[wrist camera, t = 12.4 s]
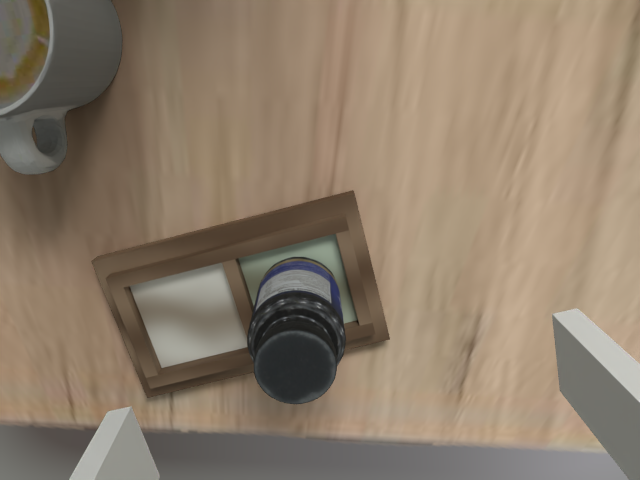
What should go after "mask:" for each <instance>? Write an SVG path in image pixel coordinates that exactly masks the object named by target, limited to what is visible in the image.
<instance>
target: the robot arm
mask: <svg viewBox="0 0 640 480" xmlns="http://www.w3.org/2000/svg"><path fill="white" fill-rule="evenodd" d="M552 319H553V328H554V338H555V348H556V357H557V367H558V377H559V386H560V392H561V393H562V394H563V395H564V397H565V398H566V399H567V401H568V402H569V403H570V404H571V406H572V407H573V408H574V410H575V411H576V412H577V413H578V415H579V416H580V417H581V419H582V420H583V421H584V422H585V424H586V425H587V426H588V427H589V429H590V430H591V431H592V433H593V434H594V435H595V436H596V438H597V439H598V440H599V442H600V443H601V444H602V445H603V447H604V448H605V449H606V451H607V452H608V453H609V454H610V456H611V457H612V458H613V460H614V461H615V462H616V463H617V465H618V466H619V467H620V469H621V470H622V471H623V472H624V474H625V475H626V476H627V477H628V479H629V480H640V364H639V363H638V362H637V361H636V360H635V359H634V358H632V357H631V356H630V355H629V354H628V353H627V352H626V351H625V350H623V349H622V348H621V347H620V346H619V345H618V344H617V343H616V342H615V341H613V340H612V339H611V338H610V337H609V336H608V335H607V334H606V333H605V332H603V331H602V330H601V329H600V328H599V327H598V326H597V325H596V324H594V323H593V322H592V321H591V320H590V319H589V318H588V317H587V316H586V315H584V314H583V313H582V312H581V311H580V310H579V309H578V308H577V309H572V310H568V311H563V312H559V313H554V314H552ZM159 477H160V475H159V473H158V470H157V468H156V465H155V463H154V460H153V458H152V455H151V453H150V451H149V448H148V446H147V443H146V441H145V438H144V436H143V434H142V431H141V429H140V426H139V424H138V421H137V419H136V417H135V414H134V412H133V409H132V407H126V408H122V409H117V410H112V411H108V412H107V414H106V415H105V417H104V419H103V421H102V422H101V424H100V426H99V428H98V430H97V431H96V433H95V435H94V437H93V438H92V440H91V442H90V444H89V445H88V447H87V449H86V451H85V453H84V454H83V456H82V458H81V460H80V461H79V463H78V465H77V467H76V468H75V470H74V472H73V474H72V475H71V477H70V479H69V480H159Z"/></svg>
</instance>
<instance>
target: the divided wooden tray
mask: <svg viewBox="0 0 640 480" xmlns="http://www.w3.org/2000/svg"><path fill="white" fill-rule="evenodd" d="M290 257H307V258H310V259H314V260H316V261H319V262H321V263H322V264H323V265H325V266H326V267H327V268H328V269H329V270H330V271H331V272H332V273H333V275H334V277H335V280H336V282H337V284H338V287H339V291H340V298H341V305H342V312H343V321H344V328H345V335H346V345H345V350H348V349H352V348H356V347H360V346H364V345H368V344H372V343H377V342H381V341H385V340H389V339H390V337H389V333H388V329H387V325H386V321H385V317H384V313H383V309H382V305H381V301H380V296H379V292H378V288H377V284H376V280H375V276H374V272H373V268H372V264H371V260H370V256H369V251H368V247H367V243H366V239H365V235H364V231H363V227H362V223H361V219H360V215H359V211H358V206H357V202H356V198H355V194H354V191H349V192H345V193H341V194H337V195H333V196H330V197H326V198H322V199H318V200H314V201H310V202H306V203H302V204H299V205H295V206H291V207H287V208H283V209H279V210H275V211H271V212H268V213H264V214H260V215H256V216H252V217H248V218H244V219H240V220H237V221H233V222H229V223H225V224H221V225H217V226H213V227H209V228H206V229H202V230H198V231H194V232H190V233H186V234H182V235H178V236H175V237H171V238H167V239H163V240H159V241H155V242H151V243H147V244H144V245H140V246H136V247H132V248H128V249H124V250H120V251H116V252H113V253H109V254H105V255H101V256H97V257H96V258H95V259H94V260H93V261H92V264H93V267H94V269H95V272H96V274H97V276H98V279H99V281H100V284H101V286H102V289H103V291H104V294H105V296H106V298H107V301H108V303H109V306H110V308H111V311H112V313H113V315H114V318H115V320H116V323H117V325H118V328H119V330H120V332H121V335H122V337H123V340H124V342H125V345H126V347H127V350H128V352H129V354H130V357H131V359H132V362H133V364H134V367H135V369H136V371H137V374H138V376H139V379H140V381H141V384H142V386H143V388H144V391H145V393H146V396H147V398H149V397H153V396H157V395H161V394H165V393H170V392H174V391H178V390H182V389H186V388H190V387H194V386H199V385H203V384H207V383H211V382H215V381H219V380H223V379H227V378H232V377H236V376H240V375H244V374H248V373H252V372H254V363H253V361H252V359H251V356H250V354H249V350H248V346H247V335H248V329H249V325H250V321H251V317H252V313H253V309H254V305H255V301H256V297H257V292H258V289H259V285H260V282H261V280H262V279H263V277H264V275H265V273H266V272H267V271H268V270H269V269H270V268H271V267H272V266H273V265H274V264H275V263H277V262H279V261H281V260H284V259H287V258H290Z"/></svg>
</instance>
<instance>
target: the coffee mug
mask: <svg viewBox="0 0 640 480" xmlns="http://www.w3.org/2000/svg"><path fill="white" fill-rule="evenodd" d="M121 53H122V32H121V26H120V22H119V18H118V15H117V12H116V10H115V8H114V5H113V3H112V1H111V0H0V154H1V157H2V158H3V159H4V161H5V162H6V163H7V165H8V166H9V167H10V168H12V169H13V170H14V171H16V172H19V173H22V174H42V173H46V172H50V171H53V170H54V169H56V168H57V167H58V166H59V165H60V164H61V163H62V162H63V160H64V159H65V156H66V152H67V134H66V127H65V116H66V113H67V111H68V110H70V109H73V108H77V107H80V106H83V105H85V104H88V103H89V102H91V101H93V100H94V99H96V98H97V97H98V96H99V95H100V94H101V93H103V92H104V91H105V89H106V88H107V87H108V86H109V84H110V83H111V81H112V80H113V78H114V76H115V74H116V72H117V69H118V66H119V63H120V60H121ZM32 127H34V129H35V133H36V137H37V146H36V144H35V142H34V140H33V136H32Z"/></svg>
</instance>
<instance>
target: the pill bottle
mask: <svg viewBox="0 0 640 480" xmlns="http://www.w3.org/2000/svg"><path fill="white" fill-rule="evenodd" d="M345 345H346V335H345V328H344V321H343V312H342V305H341V298H340V291H339V287H338V284H337V282H336V280H335V277H334V275H333V273H332V272H331V271H330V270H329V269H328V268H327V267H326V266H325V265H323V264H322V263H321V262H319V261H316V260H314V259H310V258H307V257H290V258H287V259H284V260H281V261H279V262H277V263H275V264H274V265H273V266H272V267H271V268H270V269H269V270H268V271H267V272H266V273H265V275H264V277H263V279H262V280H261V282H260V285H259V289H258V292H257V297H256V301H255V305H254V309H253V313H252V317H251V321H250V325H249V329H248V335H247V346H248V350H249V354H250V356H251V359H252V361H253V363H254V373H255V377H256V380H257V382H258V384H259V385H260V387H261V388H262V389H263V391H264V392H265V393H267V394H268V395H269V396H270V397H272V398H274V399H276V400H278V401H281V402H284V403H290V404H302V403H306V402H310V401H312V400H315V399H317V398H318V397H320V396H322V395H323V394H324V393H325V392H326V391H327V390H328V389H329V388H330V386H331V385H332V383H333V381H334V379H335V375H336V370H337V365H338V364H339V362H340V360H341V358H342V356H343V353H344V350H345Z"/></svg>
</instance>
